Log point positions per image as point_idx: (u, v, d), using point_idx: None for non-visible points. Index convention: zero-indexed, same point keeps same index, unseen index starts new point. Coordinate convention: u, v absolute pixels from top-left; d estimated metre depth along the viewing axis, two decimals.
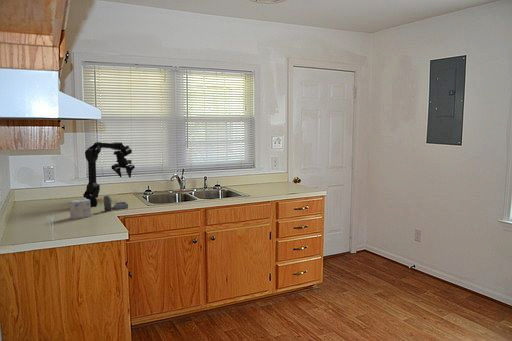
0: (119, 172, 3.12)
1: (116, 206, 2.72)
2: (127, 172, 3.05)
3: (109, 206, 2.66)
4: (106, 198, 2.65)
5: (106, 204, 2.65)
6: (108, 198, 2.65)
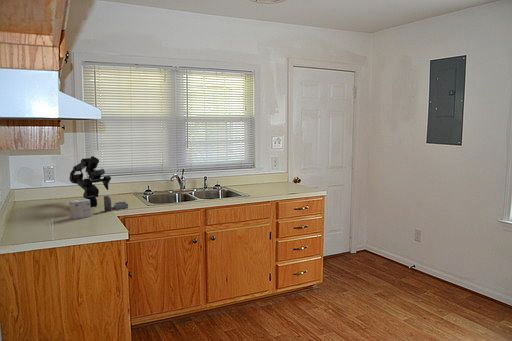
0: (105, 185, 2.76)
1: (116, 206, 2.72)
2: (89, 188, 2.70)
3: (109, 206, 2.66)
4: (106, 198, 2.65)
5: (106, 204, 2.65)
6: (108, 198, 2.65)
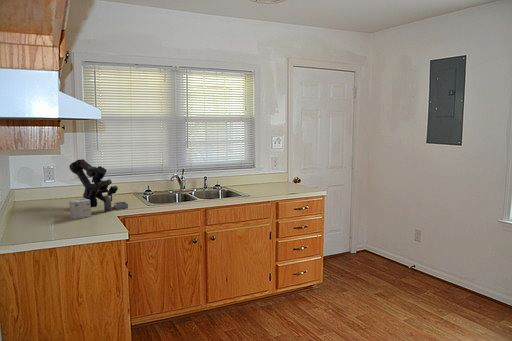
0: None
1: (116, 206, 2.72)
2: None
3: (109, 206, 2.66)
4: (106, 198, 2.65)
5: (106, 204, 2.65)
6: (108, 198, 2.65)
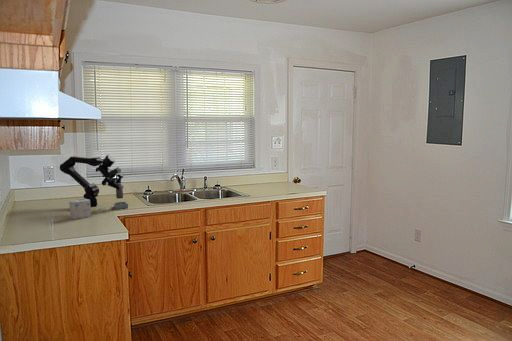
0: None
1: (116, 206, 2.72)
2: None
3: (122, 193, 2.75)
4: (119, 185, 2.73)
5: (119, 191, 2.74)
6: (121, 185, 2.74)
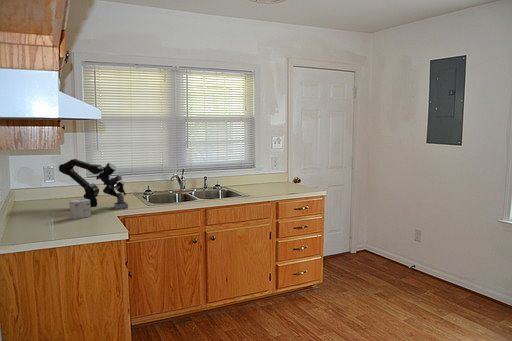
0: (121, 191, 2.81)
1: (116, 206, 2.72)
2: None
3: (123, 202, 2.77)
4: (121, 195, 2.75)
5: (121, 201, 2.75)
6: (122, 195, 2.76)
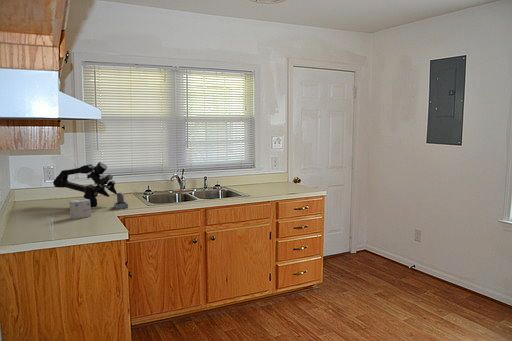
0: (112, 190, 2.83)
1: (116, 206, 2.72)
2: (100, 193, 2.73)
3: (123, 202, 2.77)
4: (121, 195, 2.75)
5: (121, 201, 2.75)
6: (122, 195, 2.76)
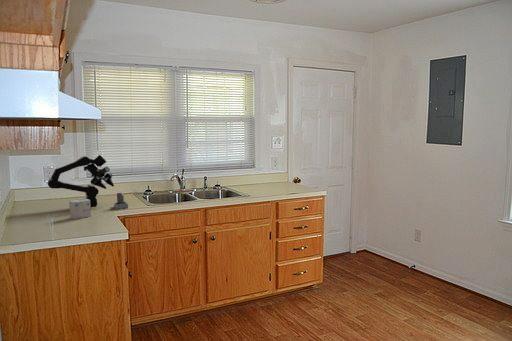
0: (109, 182, 2.84)
1: (116, 206, 2.72)
2: (97, 185, 2.74)
3: (123, 202, 2.77)
4: (121, 195, 2.75)
5: (121, 201, 2.75)
6: (122, 195, 2.76)
